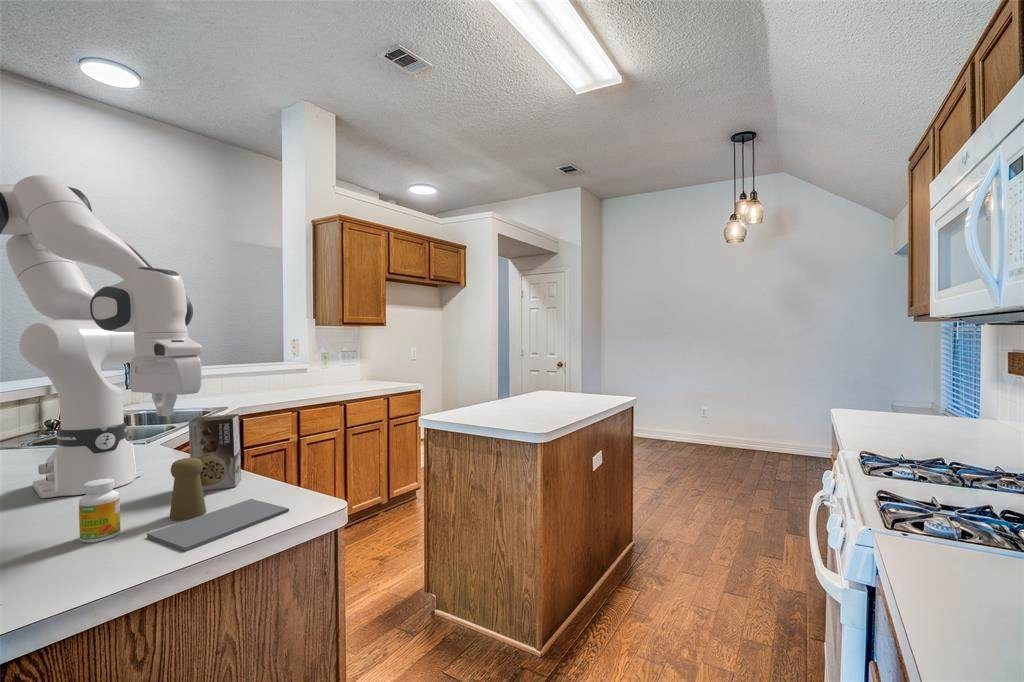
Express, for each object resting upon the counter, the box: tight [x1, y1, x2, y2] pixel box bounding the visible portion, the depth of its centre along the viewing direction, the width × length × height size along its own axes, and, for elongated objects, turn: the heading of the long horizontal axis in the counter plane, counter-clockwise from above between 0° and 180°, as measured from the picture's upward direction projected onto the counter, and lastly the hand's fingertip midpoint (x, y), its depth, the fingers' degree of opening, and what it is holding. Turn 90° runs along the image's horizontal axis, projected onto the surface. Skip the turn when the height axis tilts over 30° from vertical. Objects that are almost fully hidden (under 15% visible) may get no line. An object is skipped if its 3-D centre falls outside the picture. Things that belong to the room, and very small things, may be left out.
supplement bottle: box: [78, 479, 121, 544], centre depth 82 cm, size 5×5×10 cm
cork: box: [168, 457, 207, 522], centre depth 92 cm, size 6×6×11 cm
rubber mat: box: [146, 498, 290, 552], centre depth 88 cm, size 12×19×1 cm, turn 152°
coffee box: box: [188, 413, 242, 491], centre depth 110 cm, size 9×6×16 cm
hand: (165, 415), depth 95 cm, fingers closed
